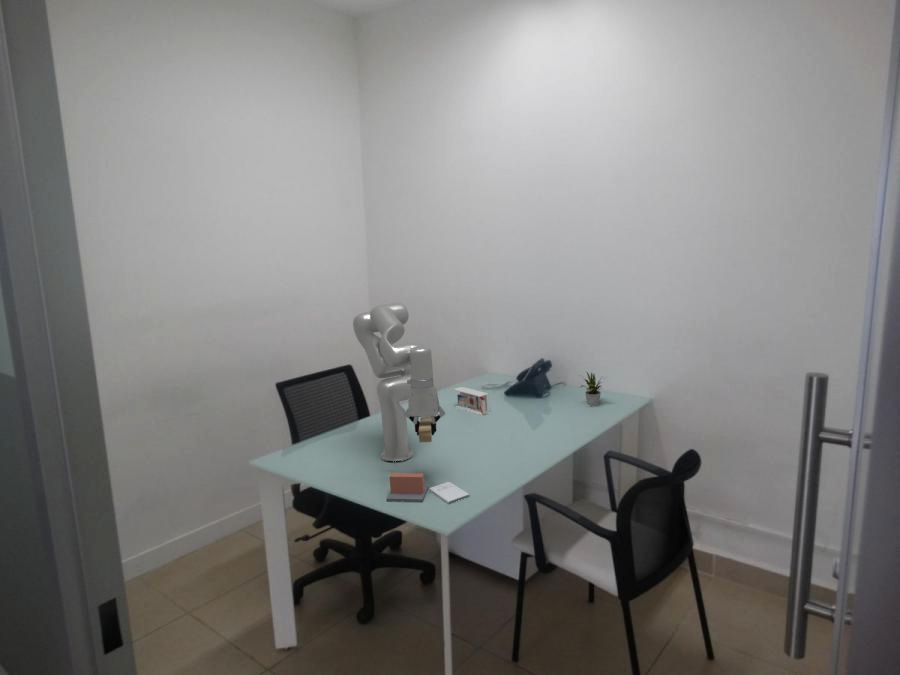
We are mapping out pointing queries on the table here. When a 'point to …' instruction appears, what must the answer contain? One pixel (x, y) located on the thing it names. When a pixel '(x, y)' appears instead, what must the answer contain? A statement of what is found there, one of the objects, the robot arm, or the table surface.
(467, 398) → the cigarette display
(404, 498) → the fulcrum board
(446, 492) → the external hard drive
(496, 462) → the table surface
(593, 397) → the house plant
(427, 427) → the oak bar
